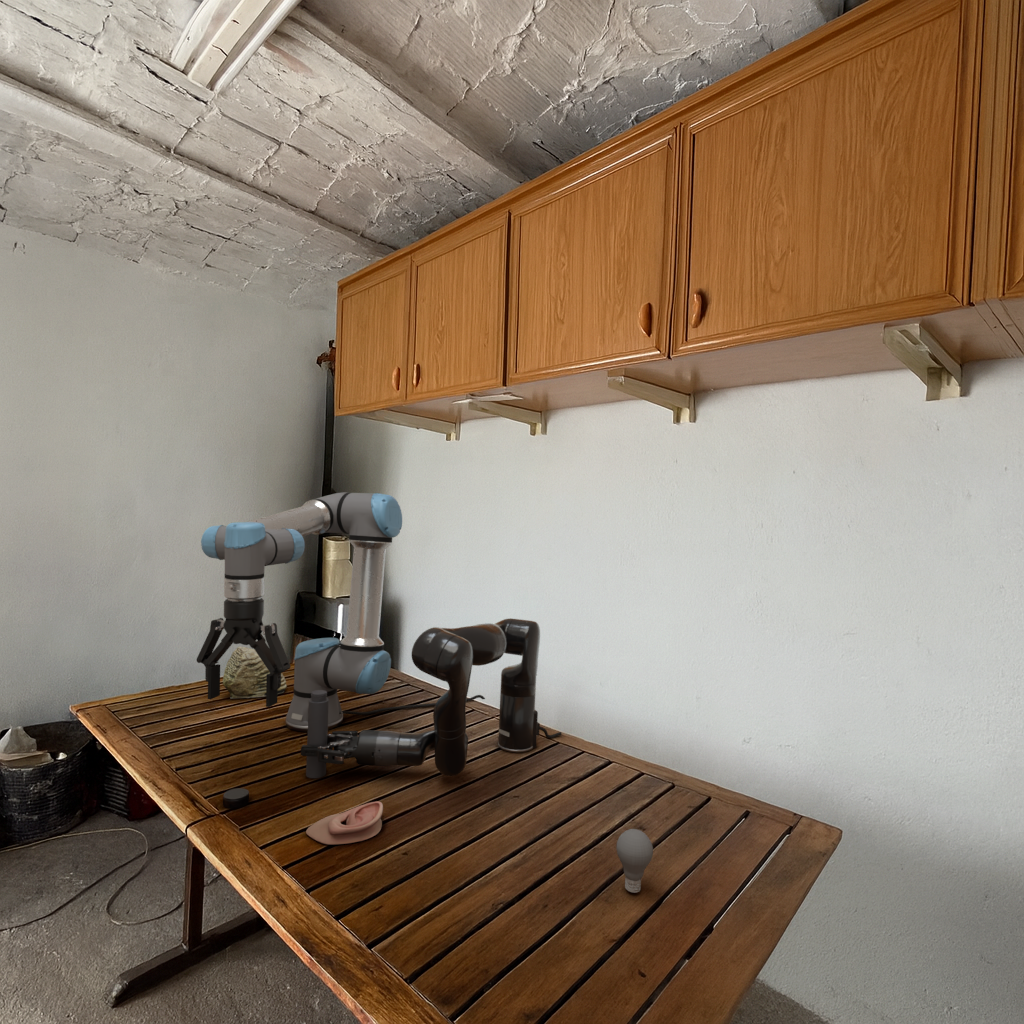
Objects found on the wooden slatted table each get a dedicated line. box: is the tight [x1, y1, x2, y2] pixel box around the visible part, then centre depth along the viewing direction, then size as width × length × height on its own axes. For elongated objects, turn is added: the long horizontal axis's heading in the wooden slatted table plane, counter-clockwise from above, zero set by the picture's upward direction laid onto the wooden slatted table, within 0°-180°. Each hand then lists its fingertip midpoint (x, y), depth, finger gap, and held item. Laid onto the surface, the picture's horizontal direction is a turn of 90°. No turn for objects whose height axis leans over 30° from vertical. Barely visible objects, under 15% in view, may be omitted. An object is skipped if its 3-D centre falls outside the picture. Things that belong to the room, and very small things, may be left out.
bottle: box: [305, 690, 329, 779], centre depth 144 cm, size 4×4×19 cm
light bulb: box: [615, 828, 654, 894], centre depth 106 cm, size 6×6×10 cm
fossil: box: [222, 646, 288, 699], centre depth 198 cm, size 9×18×15 cm, turn 132°
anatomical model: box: [305, 800, 384, 846], centre depth 121 cm, size 13×4×12 cm
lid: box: [222, 787, 250, 810], centre depth 129 cm, size 5×5×2 cm
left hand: (242, 701), depth 130 cm, fingers open, 13 cm apart
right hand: (306, 745), depth 144 cm, fingers open, 5 cm apart
